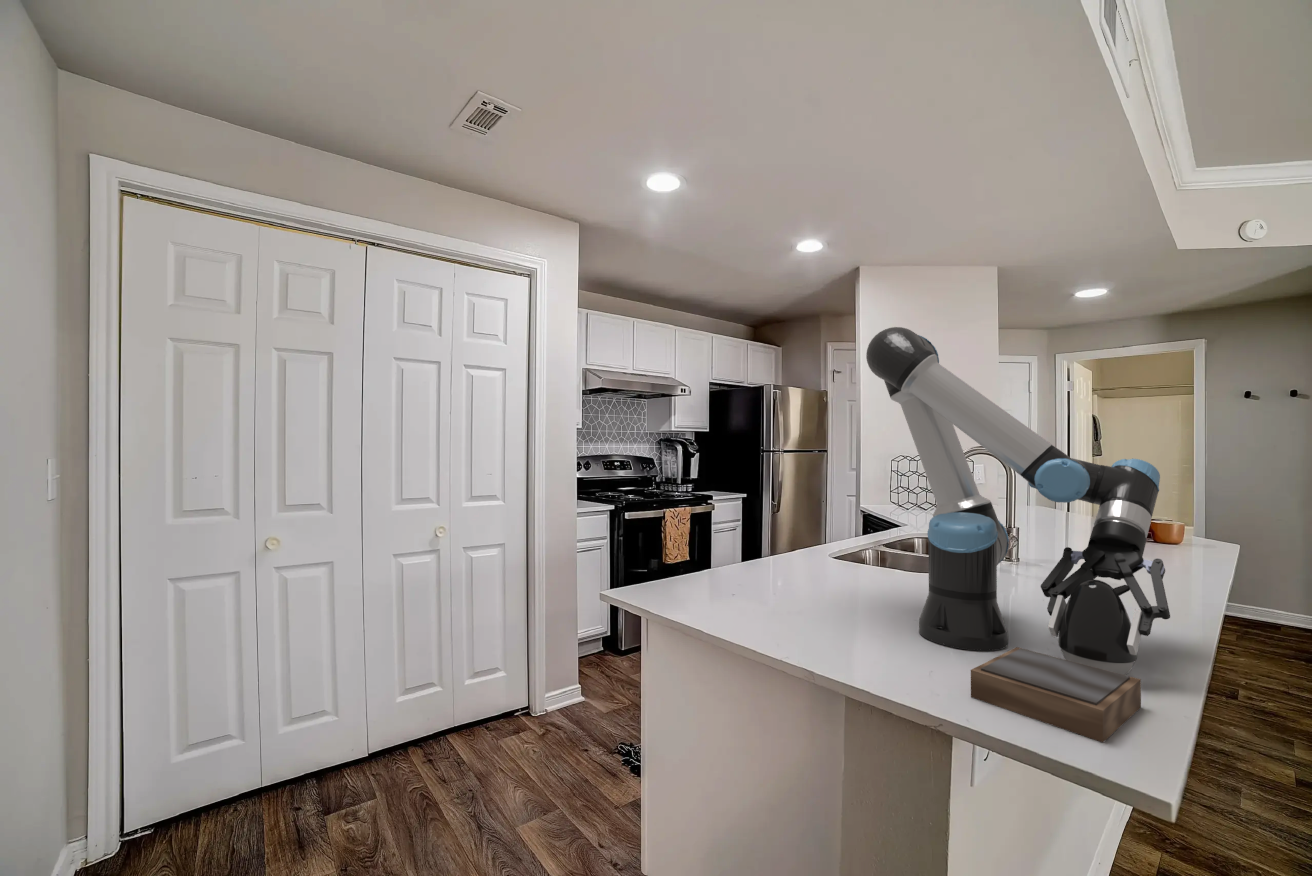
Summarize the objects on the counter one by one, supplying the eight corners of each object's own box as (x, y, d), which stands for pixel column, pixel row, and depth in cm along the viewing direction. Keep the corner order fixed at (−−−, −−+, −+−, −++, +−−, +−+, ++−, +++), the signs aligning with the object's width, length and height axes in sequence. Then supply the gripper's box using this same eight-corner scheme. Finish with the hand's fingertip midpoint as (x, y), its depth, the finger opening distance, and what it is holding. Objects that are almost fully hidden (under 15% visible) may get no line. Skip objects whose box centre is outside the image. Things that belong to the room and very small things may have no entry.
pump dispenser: (1156, 686, 88) (1155, 587, 89) (1088, 686, 89) (1087, 587, 89) (1105, 661, 99) (1104, 572, 99) (1044, 661, 99) (1043, 572, 99)
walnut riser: (1103, 742, 72) (1102, 708, 72) (970, 697, 85) (970, 667, 85) (1141, 707, 81) (1140, 677, 81) (1016, 671, 94) (1016, 645, 94)
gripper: (1209, 555, 94) (1188, 675, 85) (1051, 537, 112) (1019, 635, 102) (1202, 526, 91) (1179, 647, 81) (1041, 512, 109) (1006, 610, 99)
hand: (1090, 640), depth 92 cm, fingers closed on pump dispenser, 10 cm apart
